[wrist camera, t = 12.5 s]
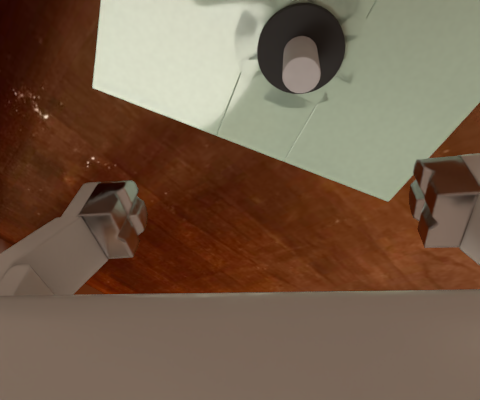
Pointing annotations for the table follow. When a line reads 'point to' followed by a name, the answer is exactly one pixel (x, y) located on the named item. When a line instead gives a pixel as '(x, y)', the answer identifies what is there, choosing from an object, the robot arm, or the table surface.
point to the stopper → (301, 48)
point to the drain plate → (308, 104)
